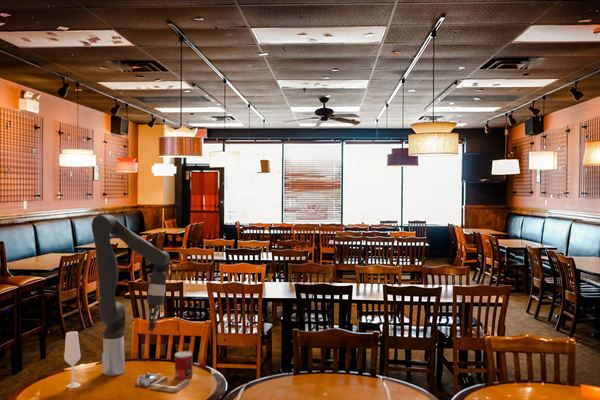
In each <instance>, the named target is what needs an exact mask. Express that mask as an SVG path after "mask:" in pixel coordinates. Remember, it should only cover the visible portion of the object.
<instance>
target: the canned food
mask: <svg viewBox="0 0 600 400" xmlns="http://www.w3.org/2000/svg"><path fill="white" fill-rule="evenodd" d="M174 374H175V375H174V377H175V380H177V381H184V380H186V379H188V380H190V379H192V378H193V353H192V352H191V351H188V350H187V351H186V350H183V351H178V352H176V353H174Z"/></svg>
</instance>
